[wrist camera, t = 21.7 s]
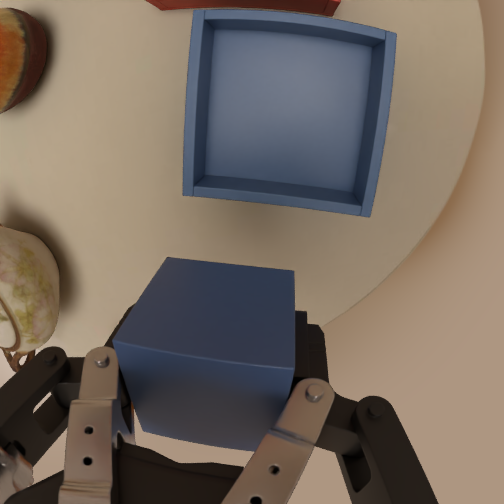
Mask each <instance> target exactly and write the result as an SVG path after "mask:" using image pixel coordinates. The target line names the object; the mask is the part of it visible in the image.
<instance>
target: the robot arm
mask: <svg viewBox="0 0 504 504" xmlns="http://www.w3.org/2000/svg"><path fill="white" fill-rule="evenodd" d="M135 304H136V303H135ZM135 304H134V305H135ZM134 305H132V306H131V307H130V308H128V310H127V311H126V313H125V314H124V316H123V318H122V319H121V320H120V322H119V324H118V325H117V326H116V328H115V329H114V331H113V333H112V334H111V336H110V337H109V339H108V340H107V342H106V344H105V345H104V346H103V347H97V348H94V349H92V350H91V351H90V352H88V353H87V355H86V357H67V355H66V353H65V351H64V350H63V349H62V348H60V347H55V346H52V347H47V348H45V349H43V350H41V351H40V352H39V353H38V354H37V355H36V356H35V357H33V358H32V359H31V360H30V361H29V362H28V363H27V364H26V365H25V366H23V367H22V368H21V369H20V370H19V371H18V372H17V373H16V374H15V375H14V376H13V377H12V378H10V379H9V380H8V381H7V382H6V383H5V384H4V385H3V386H2V387H1V388H0V504H287V502H288V500H289V499H290V497H291V495H292V493H293V491H294V489H295V487H296V485H297V483H298V481H299V479H300V477H301V475H302V473H303V471H304V468H305V466H306V464H307V462H308V460H309V458H310V456H311V454H312V451H313V449H314V446H316V447H319V448H322V449H326V450H329V451H332V452H335V454H336V457H337V459H338V462H339V466H340V468H341V471H342V475H343V477H344V481H345V483H346V487H347V490H348V493H349V495H350V499H351V501H352V504H438V502H437V499H436V497H435V495H434V492H433V490H432V488H431V486H430V483H429V481H428V479H427V477H426V475H425V473H424V470H423V468H422V466H421V464H420V462H419V460H418V458H417V455H416V453H415V451H414V449H413V447H412V445H411V443H410V441H409V439H408V437H407V435H406V433H405V430H404V428H403V426H402V424H401V422H400V421H399V418H398V417H397V415H396V412H395V411H394V408H393V407H392V405H391V404H390V403H389V402H388V401H387V400H386V399H384V398H382V397H378V396H368V397H365V398H363V399H361V400H360V401H359V402H357V401H354V400H350V399H347V398H344V397H342V396H340V395H338V394H337V393H336V392H335V391H334V390H333V388H332V387H331V385H330V384H329V378H328V367H327V357H326V347H325V338H324V333H323V331H322V330H321V328H320V327H319V325H315V324H307V312H306V311H297V310H295V371H294V375H293V380H292V384H291V388H290V392H289V396H288V400H287V403H286V405H285V406H284V408H283V410H282V412H281V414H280V415H279V417H278V419H277V421H276V423H275V424H274V426H273V427H272V428H270V429H269V430H268V431H267V432H266V434H265V436H264V437H263V439H262V441H261V442H260V444H259V446H258V447H257V449H256V450H255V452H254V454H253V455H252V457H251V459H250V460H249V462H248V463H247V465H246V466H245V468H244V467H241V466H233V465H226V464H220V463H212V462H211V463H178V462H175V461H173V460H171V459H169V458H167V457H165V456H163V455H161V454H159V453H157V452H155V451H153V450H151V449H147V448H144V447H140V446H137V445H136V442H135V434H134V433H135V432H134V407H133V404H132V401H131V398H130V395H129V393H128V390H127V387H126V384H125V381H124V378H123V375H122V372H121V369H120V365H119V362H118V359H117V356H116V352H115V349H114V345H113V342H112V340H113V338H114V337H115V335H116V333H117V332H118V330H119V329H120V327H121V326H122V324H123V322H124V321H125V319H126V318H127V316H128V315H129V313H130V312H131V310H132V308H133V307H134ZM49 392H51V394H52V395H51V396H50V397H49V398H48V399H47V400H46V401H45V402H44V403H43V404H42V405H41V406H40V407H39V408H38V409H37V410H36V411H35V412H34V413H33V410H34V408H35V406H36V405H37V404H38V403H39V402H40V401H41V400H42V399H43V398H44V397H45V396H46V395H47V394H48V393H49ZM67 427H68V429H67V438H66V450H65V464H64V470H62V471H60V472H58V473H56V474H54V475H52V476H50V477H48V478H46V479H44V480H42V481H40V482H38V483H36V484H34V485H32V484H33V482H34V479H33V476H32V475H33V470H32V469H33V466H34V465H35V464H36V463H37V462H38V461H39V459H40V458H41V457H42V456H43V455H44V454H45V452H46V451H47V450H48V449H49V448H50V447H51V446H52V444H53V443H54V442H55V441H56V440H57V439H58V437H59V436H60V435H61V434H62V433H63V432H64V431H65V429H66V428H67ZM30 485H31V486H30ZM28 486H29V487H28Z"/></svg>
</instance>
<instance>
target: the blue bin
mask: <svg viewBox="0 0 504 504" xmlns="http://www.w3.org/2000/svg"><path fill="white" fill-rule="evenodd" d="M396 38H397V34H396V33H394V32H390V31H385V30H383V29H379V28H375V27H371V26H366V25H362V24H358V23H353V22H348V21H343V20H337V19H332V18H326V17H319V16H313V15H305V14H297V13H288V12H277V11H263V10H238V9H212V10H194V11H193V20H192V29H191V39H190V50H189V62H188V74H187V89H186V105H185V125H184V151H183V196H195V197H206V198H216V199H227V200H237V201H246V202H255V203H264V204H273V205H281V206H290V207H298V208H306V209H313V210H321V211H328V212H335V213H342V214H349V215H356V216H363V217H370V215H371V211H372V206H373V202H374V197H375V192H376V187H377V182H378V177H379V172H380V166H381V161H382V155H383V149H384V143H385V137H386V130H387V124H388V117H389V109H390V102H391V93H392V84H393V75H394V64H395V53H396Z"/></svg>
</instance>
